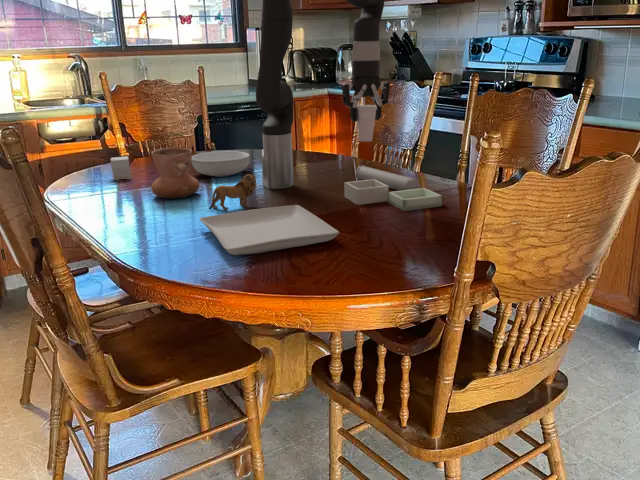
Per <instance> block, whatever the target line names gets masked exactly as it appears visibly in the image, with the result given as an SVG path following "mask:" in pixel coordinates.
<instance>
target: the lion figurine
mask: <svg viewBox="0 0 640 480" xmlns="http://www.w3.org/2000/svg"><path fill="white" fill-rule="evenodd" d="M256 187H257V180H256V176H255V175H254V174H249V173H248V174H246V175H244V176H243V177H242V179H241V180H240V181H238V182H237V183H236V184H234V185H222V184H221V185H219V186H217V187H215V189H214V190H213V194H212V197H211V205H210V206H209V208H208V210H212V208H213V209H217V208H218V205H216V204H217V203H218V202H219V201H220V206H221V208H222V209H223V210H224V209H228V210H229V208H228V207H227V206H225V200H226V197H227V198H229V199H239V205H240V206H241V205H244V206H243V207H244V208H246V207H248V208H249V207H250V206H249V205H248V203H247V202H248V197H250V196H252V195H253V194H254V191H255V190H256Z"/></svg>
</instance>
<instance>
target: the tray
mask: <svg viewBox="0 0 640 480" xmlns="http://www.w3.org/2000/svg"><path fill="white" fill-rule="evenodd" d="M442 201H443V195H441V194H439V193H437V192H434V191H433V190H430V189H428V188H426V187H421V188H416V189H411V190H402V191H398V190H394V191H388V192H387V201H386V202H387V204H389V205H392V206H393V207H395V208H397V209H399V210H400V211H402V212H405V211H413V210H415V211H416V210H421V209H429V208H438V207H442V204H443V203H442Z"/></svg>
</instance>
